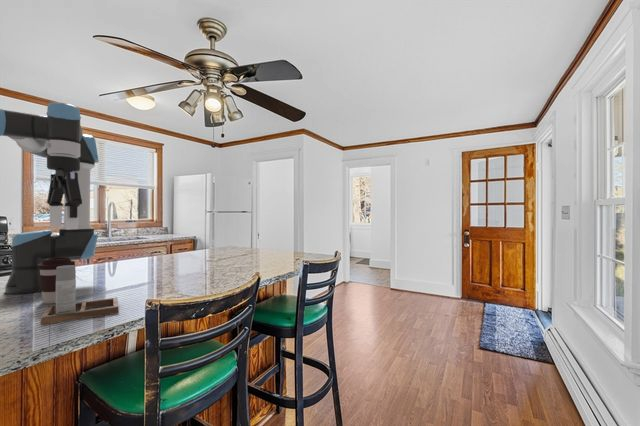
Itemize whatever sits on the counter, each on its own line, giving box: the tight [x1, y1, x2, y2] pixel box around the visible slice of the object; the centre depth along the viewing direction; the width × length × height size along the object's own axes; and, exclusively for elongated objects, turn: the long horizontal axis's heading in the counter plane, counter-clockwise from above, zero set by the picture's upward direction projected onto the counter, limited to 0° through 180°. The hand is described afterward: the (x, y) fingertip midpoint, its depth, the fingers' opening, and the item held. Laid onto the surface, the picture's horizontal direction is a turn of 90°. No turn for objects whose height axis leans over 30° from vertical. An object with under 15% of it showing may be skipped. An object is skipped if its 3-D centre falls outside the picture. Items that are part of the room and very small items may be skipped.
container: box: [55, 264, 77, 315], centre depth 91 cm, size 5×5×15 cm
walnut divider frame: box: [40, 296, 119, 326], centre depth 94 cm, size 12×18×2 cm, turn 125°
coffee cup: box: [37, 257, 76, 305], centre depth 105 cm, size 10×10×15 cm
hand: (63, 228), depth 90 cm, fingers open, 13 cm apart
